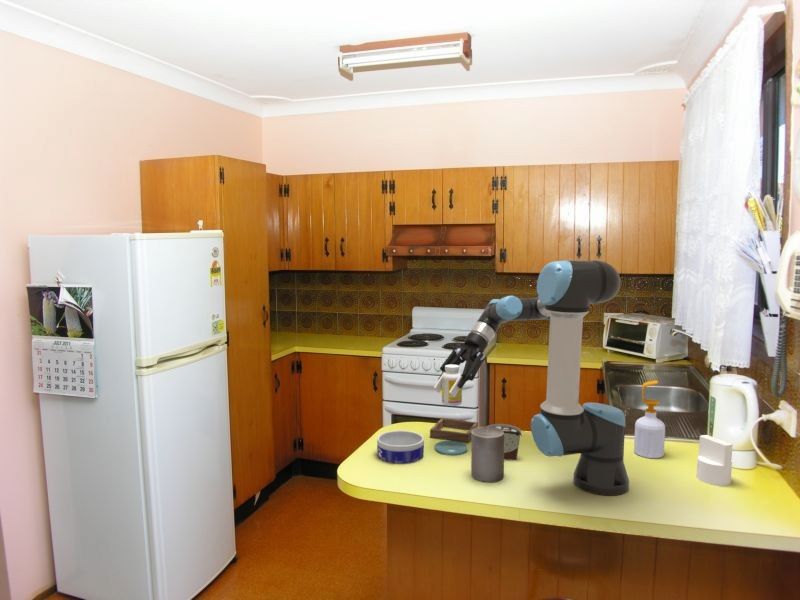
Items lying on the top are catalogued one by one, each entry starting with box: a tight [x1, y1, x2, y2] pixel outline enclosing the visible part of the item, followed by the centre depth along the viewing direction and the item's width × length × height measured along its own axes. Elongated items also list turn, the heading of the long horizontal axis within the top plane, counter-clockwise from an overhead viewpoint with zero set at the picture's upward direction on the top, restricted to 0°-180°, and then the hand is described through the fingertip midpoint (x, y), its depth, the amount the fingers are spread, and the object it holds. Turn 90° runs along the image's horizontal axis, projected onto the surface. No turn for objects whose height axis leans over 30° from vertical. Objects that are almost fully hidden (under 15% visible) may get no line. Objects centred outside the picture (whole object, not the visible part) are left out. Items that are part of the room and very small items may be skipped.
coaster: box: [434, 440, 468, 456], centre depth 194 cm, size 11×11×1 cm
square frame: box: [429, 417, 479, 444], centre depth 209 cm, size 14×14×3 cm
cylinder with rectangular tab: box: [695, 434, 734, 487], centre depth 170 cm, size 9×9×12 cm
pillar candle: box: [470, 425, 505, 483], centre depth 172 cm, size 10×10×15 cm
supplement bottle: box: [441, 364, 463, 407], centre depth 192 cm, size 7×7×13 cm
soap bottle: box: [633, 379, 666, 459], centre depth 189 cm, size 9×9×25 cm
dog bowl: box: [376, 430, 425, 465], centre depth 189 cm, size 15×15×6 cm
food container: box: [487, 423, 523, 461], centre depth 188 cm, size 12×6×10 cm, turn 84°
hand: (444, 392), depth 190 cm, fingers closed on supplement bottle, 7 cm apart
